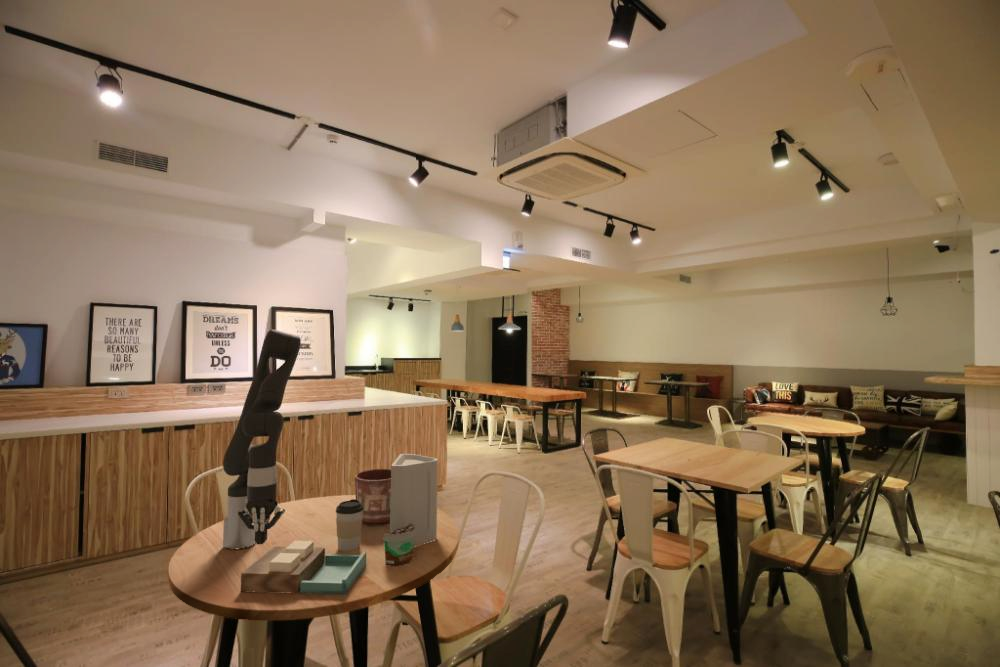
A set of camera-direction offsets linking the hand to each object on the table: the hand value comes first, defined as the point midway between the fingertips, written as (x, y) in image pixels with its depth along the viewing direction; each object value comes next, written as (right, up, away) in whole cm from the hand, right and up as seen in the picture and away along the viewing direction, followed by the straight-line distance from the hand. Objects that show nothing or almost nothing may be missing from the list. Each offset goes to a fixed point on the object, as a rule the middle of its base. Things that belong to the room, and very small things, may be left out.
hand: (261, 543), depth 134 cm
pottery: (+20, -14, +51) cm, 57 cm away
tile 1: (+7, -6, -1) cm, 10 cm away
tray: (+20, -12, +3) cm, 23 cm away
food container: (+38, -13, +15) cm, 42 cm away
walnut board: (+5, -11, +4) cm, 13 cm away
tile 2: (+7, -7, +8) cm, 13 cm away
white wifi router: (+38, -13, +33) cm, 52 cm away
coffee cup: (+17, -13, +25) cm, 33 cm away
